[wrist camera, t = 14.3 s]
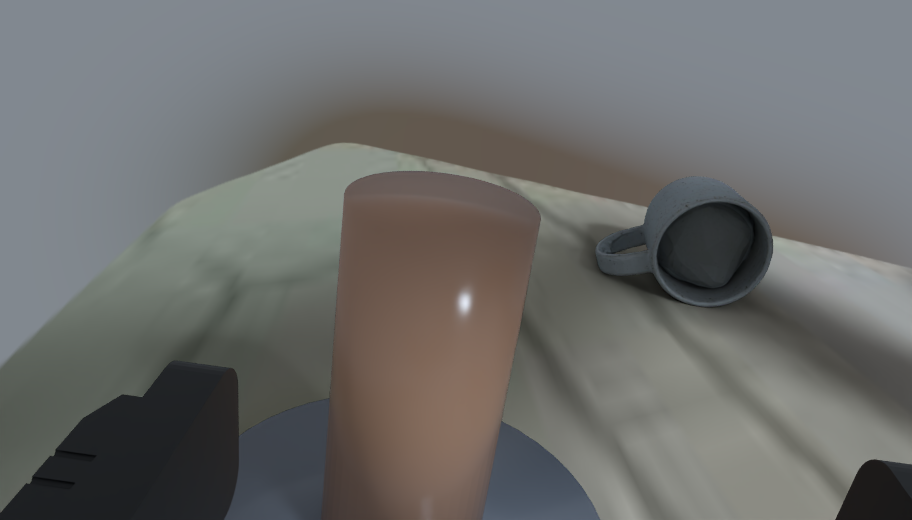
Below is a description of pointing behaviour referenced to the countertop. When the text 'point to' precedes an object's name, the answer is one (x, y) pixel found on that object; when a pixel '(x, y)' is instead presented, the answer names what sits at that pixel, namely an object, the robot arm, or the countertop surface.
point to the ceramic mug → (695, 243)
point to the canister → (423, 343)
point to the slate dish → (303, 460)
